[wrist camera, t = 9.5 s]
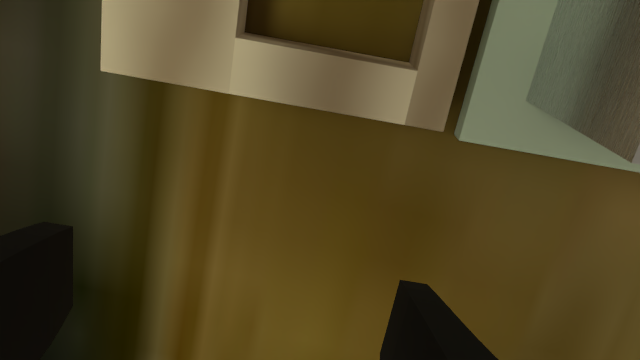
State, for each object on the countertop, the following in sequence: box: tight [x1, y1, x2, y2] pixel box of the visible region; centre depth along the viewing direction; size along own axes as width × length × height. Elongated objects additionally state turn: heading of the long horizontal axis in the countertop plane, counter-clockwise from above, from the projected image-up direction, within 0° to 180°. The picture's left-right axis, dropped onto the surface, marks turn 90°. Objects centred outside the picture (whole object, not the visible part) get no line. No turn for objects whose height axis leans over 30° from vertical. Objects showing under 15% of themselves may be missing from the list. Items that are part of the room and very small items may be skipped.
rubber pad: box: [454, 0, 640, 172], centre depth 18 cm, size 9×9×1 cm
